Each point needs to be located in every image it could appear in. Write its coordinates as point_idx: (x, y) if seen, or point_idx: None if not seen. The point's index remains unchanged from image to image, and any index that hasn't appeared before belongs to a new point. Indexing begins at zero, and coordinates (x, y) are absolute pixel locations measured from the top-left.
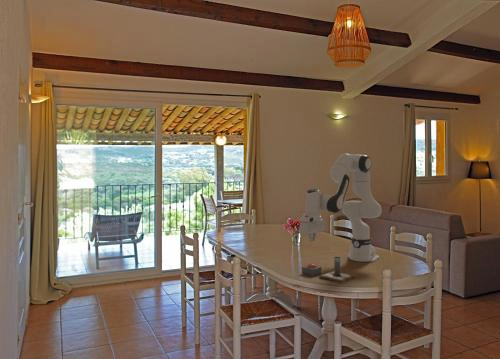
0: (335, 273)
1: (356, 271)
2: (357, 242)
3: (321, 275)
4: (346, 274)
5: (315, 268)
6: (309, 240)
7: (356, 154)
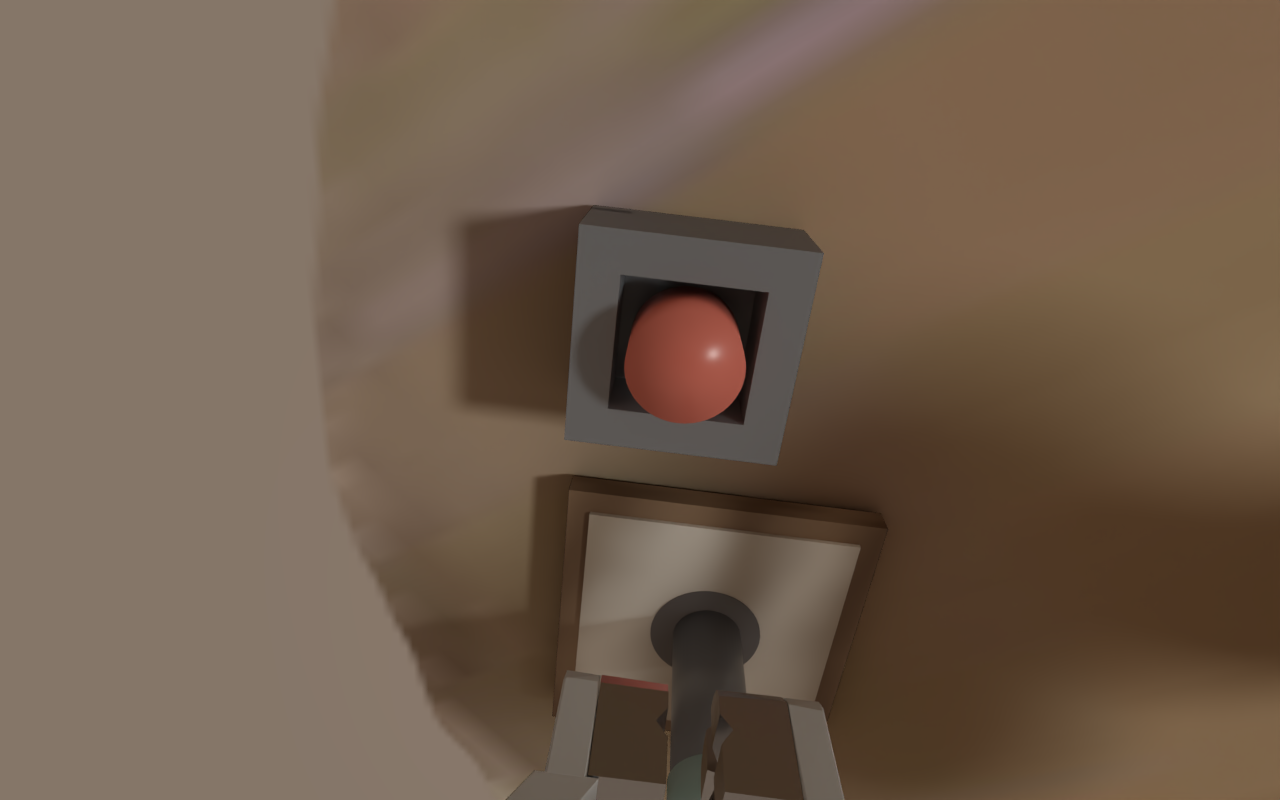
0: (673, 650)
1: (1104, 674)
2: None
3: (595, 503)
4: (800, 693)
5: (632, 437)
6: (560, 698)
7: None
